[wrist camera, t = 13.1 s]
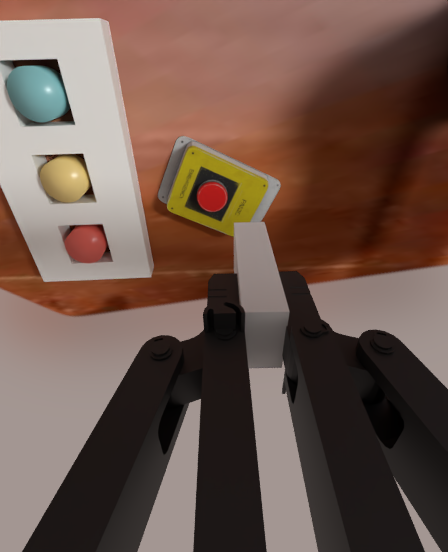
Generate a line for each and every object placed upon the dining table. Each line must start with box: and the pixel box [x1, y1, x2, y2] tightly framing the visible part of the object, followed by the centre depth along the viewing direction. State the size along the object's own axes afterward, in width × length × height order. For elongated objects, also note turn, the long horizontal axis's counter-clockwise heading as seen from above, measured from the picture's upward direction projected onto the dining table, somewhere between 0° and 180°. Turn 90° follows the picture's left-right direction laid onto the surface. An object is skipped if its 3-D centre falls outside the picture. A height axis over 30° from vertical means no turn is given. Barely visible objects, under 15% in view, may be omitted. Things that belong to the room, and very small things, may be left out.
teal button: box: [7, 65, 70, 122], centre depth 33 cm, size 5×5×4 cm
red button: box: [65, 224, 108, 263], centre depth 43 cm, size 5×5×4 cm
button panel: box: [0, 18, 154, 282], centre depth 39 cm, size 16×30×3 cm, turn 1°
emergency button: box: [158, 136, 281, 237], centre depth 41 cm, size 9×4×15 cm
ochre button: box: [40, 154, 92, 203], centre depth 38 cm, size 5×5×4 cm
